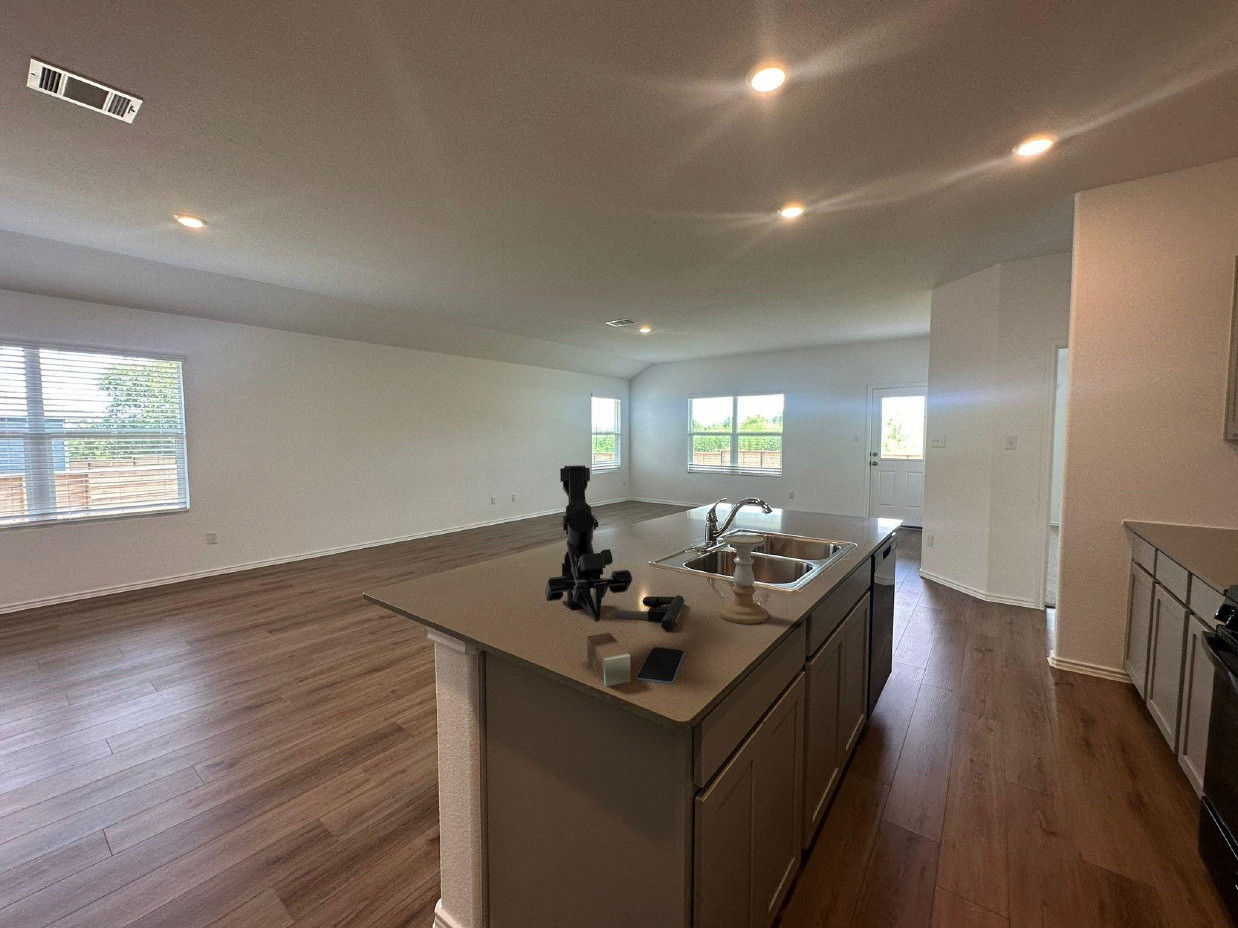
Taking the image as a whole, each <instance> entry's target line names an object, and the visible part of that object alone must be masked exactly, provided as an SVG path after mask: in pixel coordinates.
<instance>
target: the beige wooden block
mask: <svg viewBox="0 0 1238 928" xmlns="http://www.w3.org/2000/svg"><path fill="white" fill-rule="evenodd" d="M586 642H587V643H586V645H587V646H586V647H587V648H586V649H587V650H586V653H587V655H586V656H587V662H588V663H589V664H590V666H591V667H592V669H593V670H594V671H595V674H597V676H598V678H599V679H600V680H601V682H602V684H603V685H604V686H605V687H610V686H615V685H619V684H620V685H621V684H625V683H631V681H632V680H631V655H630V654H629V653H628V651H626V649H625V648H624V647H623V646H622V645H621V644H620V643H619V642H618V640H617V639H616V638H615V637H614V636H613V635H612V633H611V632H606V633H600V634H599V633H598V634H594V635H587V636H586Z"/></svg>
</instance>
